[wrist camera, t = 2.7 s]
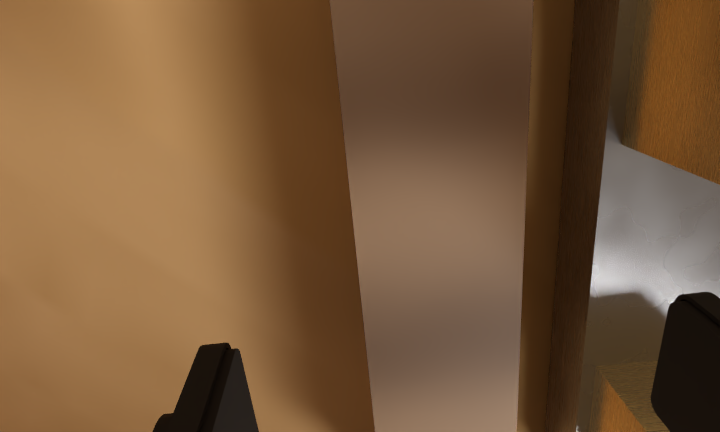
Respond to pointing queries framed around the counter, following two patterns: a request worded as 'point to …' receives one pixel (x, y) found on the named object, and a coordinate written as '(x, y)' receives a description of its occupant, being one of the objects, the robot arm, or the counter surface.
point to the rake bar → (438, 203)
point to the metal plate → (618, 225)
